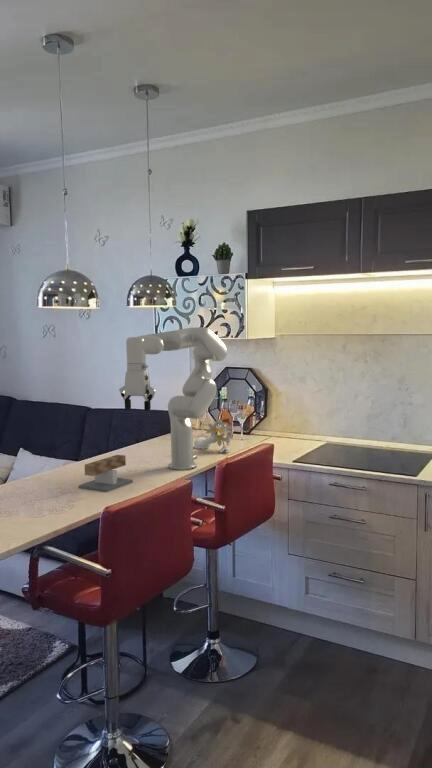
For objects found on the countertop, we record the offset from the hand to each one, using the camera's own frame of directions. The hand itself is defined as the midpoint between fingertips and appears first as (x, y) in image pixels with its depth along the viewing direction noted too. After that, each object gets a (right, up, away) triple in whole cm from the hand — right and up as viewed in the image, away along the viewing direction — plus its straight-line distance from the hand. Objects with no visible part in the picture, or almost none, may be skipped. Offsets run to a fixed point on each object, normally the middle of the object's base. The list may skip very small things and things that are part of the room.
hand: (137, 409), depth 239 cm
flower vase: (+31, -24, +57) cm, 70 cm away
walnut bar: (-11, -23, -7) cm, 27 cm away
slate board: (-12, -29, -7) cm, 32 cm away
